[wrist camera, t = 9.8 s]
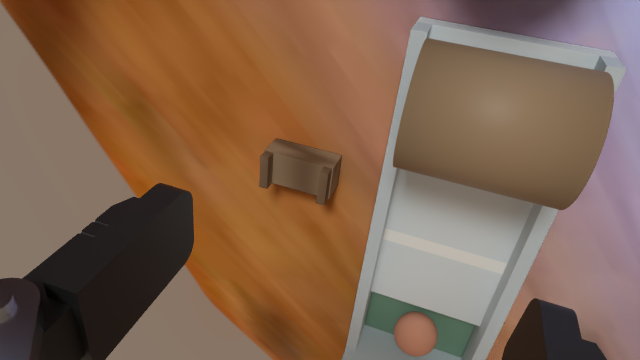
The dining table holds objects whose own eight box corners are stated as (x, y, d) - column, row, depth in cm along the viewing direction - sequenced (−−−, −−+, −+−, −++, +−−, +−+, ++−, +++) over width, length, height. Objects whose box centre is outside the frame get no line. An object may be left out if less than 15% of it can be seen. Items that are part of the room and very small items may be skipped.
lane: (354, 327, 48) (325, 408, 40) (420, 16, 31) (392, 54, 23) (468, 367, 46) (461, 462, 38) (613, 51, 28) (654, 107, 20)
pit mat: (365, 323, 47) (364, 324, 47) (375, 280, 44) (374, 281, 44) (461, 356, 45) (461, 357, 45) (479, 313, 42) (479, 315, 41)
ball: (400, 305, 45) (400, 305, 41) (440, 318, 44) (444, 320, 41) (389, 345, 44) (388, 349, 41) (429, 360, 44) (432, 365, 40)
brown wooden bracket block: (274, 167, 41) (258, 186, 38) (276, 138, 39) (259, 155, 37) (337, 184, 40) (325, 205, 37) (341, 155, 38) (329, 174, 35)
